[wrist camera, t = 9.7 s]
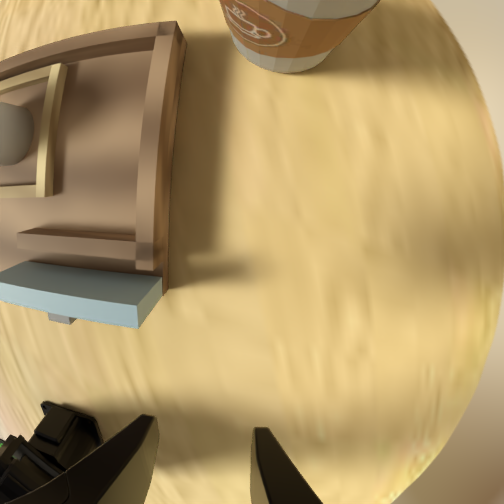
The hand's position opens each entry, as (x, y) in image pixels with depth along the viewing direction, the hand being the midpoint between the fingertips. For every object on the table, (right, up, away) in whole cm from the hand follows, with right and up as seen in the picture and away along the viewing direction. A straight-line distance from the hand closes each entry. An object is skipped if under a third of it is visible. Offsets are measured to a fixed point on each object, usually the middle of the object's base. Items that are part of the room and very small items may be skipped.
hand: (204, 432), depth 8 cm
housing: (-19, +12, +9) cm, 24 cm away
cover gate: (-10, +3, +10) cm, 14 cm away
